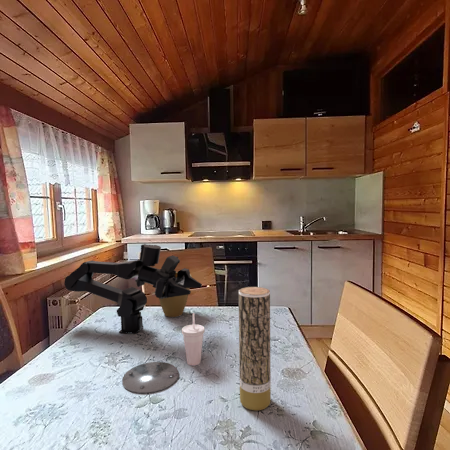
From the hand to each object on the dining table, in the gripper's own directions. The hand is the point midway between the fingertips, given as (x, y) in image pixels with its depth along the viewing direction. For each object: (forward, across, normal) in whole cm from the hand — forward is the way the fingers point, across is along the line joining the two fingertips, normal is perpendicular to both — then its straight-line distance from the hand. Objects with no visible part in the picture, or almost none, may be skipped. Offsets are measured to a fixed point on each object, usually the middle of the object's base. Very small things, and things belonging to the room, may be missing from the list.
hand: (196, 289), depth 102 cm
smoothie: (+9, -15, +15) cm, 23 cm away
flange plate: (+2, -25, +17) cm, 30 cm away
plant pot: (-15, +19, +20) cm, 32 cm away
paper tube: (+29, -28, +11) cm, 41 cm away
